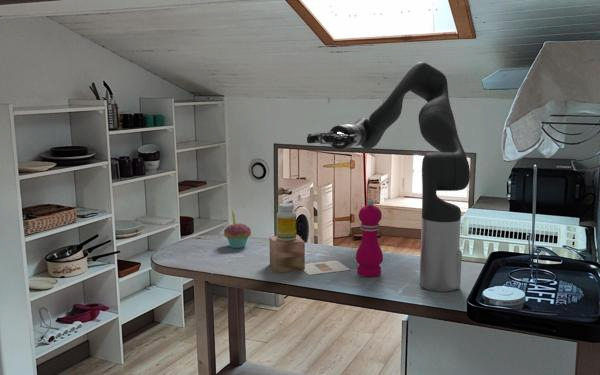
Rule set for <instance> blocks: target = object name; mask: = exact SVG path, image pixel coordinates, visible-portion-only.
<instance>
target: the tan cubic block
mask: <svg viewBox="0 0 600 375" xmlns="http://www.w3.org/2000/svg"><path fill="white" fill-rule="evenodd" d="M305 242H306V241H305V240H303V238H302V237H300V235H299V234H296V239H295V240H292V241H281V240H278V239H277V235H273V236H270V235H269V265H270V266H271V268H272V269H273V272H275V273H277V274H278V273H286V272H287V273H289V272H298V271H300V272H301V271H303V270H304V269H305V264H306V263H305V262H306V253H305V252H306V250H305V248H306V245H305Z"/></svg>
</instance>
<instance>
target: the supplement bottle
mask: <svg viewBox="0 0 600 375" xmlns="http://www.w3.org/2000/svg"><path fill="white" fill-rule="evenodd" d="M294 209H295V206H294V203H291V202H289V203H287V202H285V203H284V202H283V203H279V205H278V210H279V211H278V212H277V213H276V236H277V239H278V240H281V241H292V240H295V239H296V235H297V213H296V212H295V211H294Z"/></svg>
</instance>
